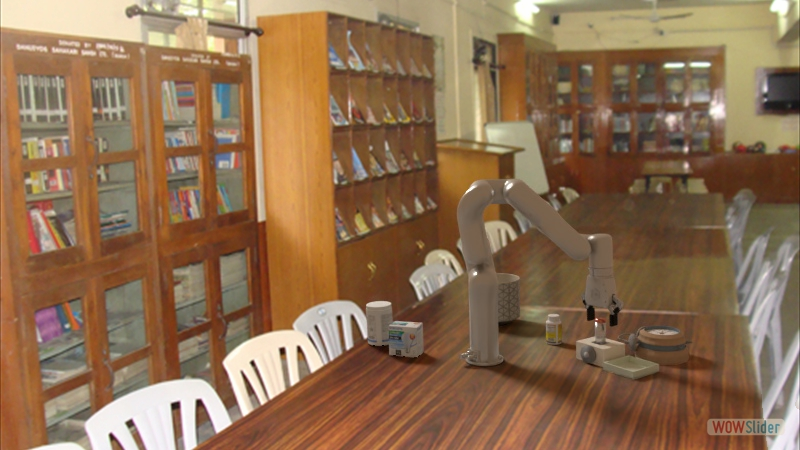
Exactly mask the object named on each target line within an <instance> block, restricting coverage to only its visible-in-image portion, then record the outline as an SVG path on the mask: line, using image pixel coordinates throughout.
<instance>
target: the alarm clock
mask: <svg viewBox="0 0 800 450" xmlns="http://www.w3.org/2000/svg"><path fill="white" fill-rule="evenodd" d="M627 335H629V337H628V339H624V338H620V337H622V336H627ZM617 340H620V341H623V342H624V344H625V345H627V344H628V348H629V349H630V351H632V352H634V357H637V358H640V359H643V360H647V361H650V362H654V363H657V364H659V366H674V365H675V366H676V365H682V364H685V363H687V362H688V361H689V359H690V351H689V349H688V347H687V345H688V344H693V341H690V340H687V338H686V337H685V332H684V331H682V330H680V329H679V328H676V327H673V326H668V325H649V326H641V327H640V328H638V330H637V331H636V333H629V332H628V333H627V332H626V333H621V334H619V335H618V336H617ZM686 344H687V345H686ZM686 361H687V362H686Z"/></svg>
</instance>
